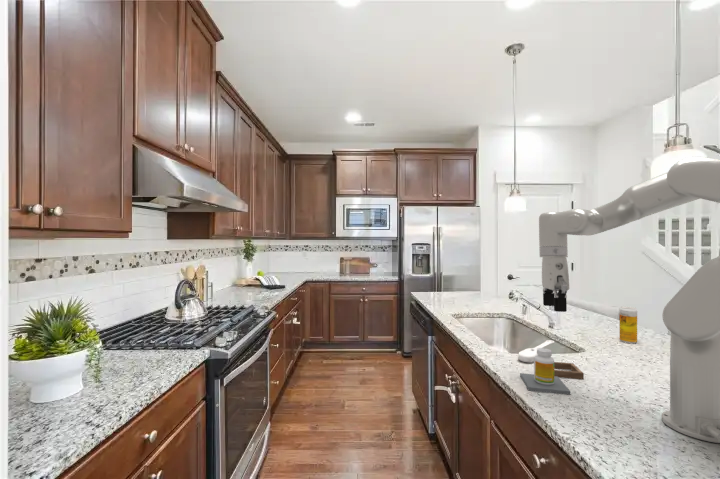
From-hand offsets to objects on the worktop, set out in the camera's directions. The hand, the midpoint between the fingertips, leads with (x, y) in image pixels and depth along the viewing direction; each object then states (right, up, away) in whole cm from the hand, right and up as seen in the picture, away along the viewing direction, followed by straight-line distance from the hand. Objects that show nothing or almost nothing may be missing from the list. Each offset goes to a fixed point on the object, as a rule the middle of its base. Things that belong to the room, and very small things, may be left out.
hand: (554, 308), depth 104 cm
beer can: (+58, -24, +44) cm, 77 cm away
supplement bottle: (-4, -22, -1) cm, 23 cm away
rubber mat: (-4, -23, -1) cm, 24 cm away
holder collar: (+8, -23, +9) cm, 26 cm away
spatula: (+9, -24, +27) cm, 37 cm away
